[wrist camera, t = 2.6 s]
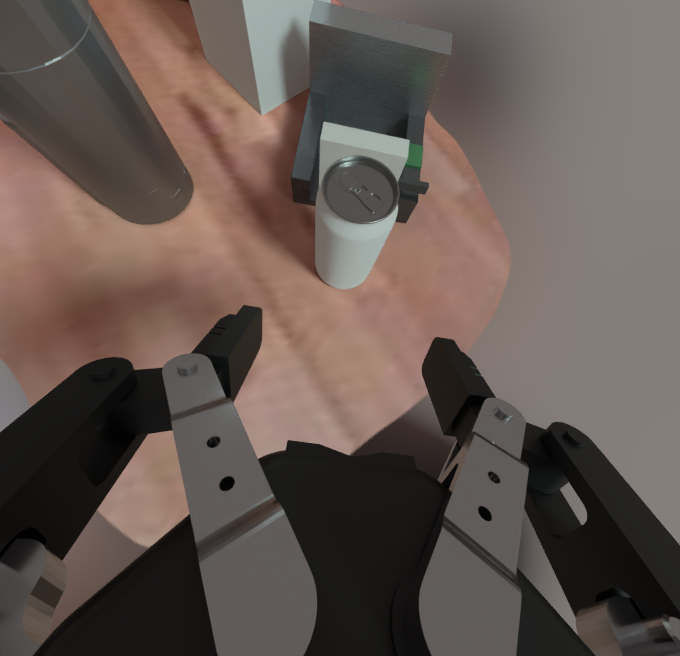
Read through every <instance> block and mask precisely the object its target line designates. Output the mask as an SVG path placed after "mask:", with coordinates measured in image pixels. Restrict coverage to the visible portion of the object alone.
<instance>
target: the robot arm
mask: <svg viewBox="0 0 680 656" xmlns="http://www.w3.org/2000/svg"><path fill="white" fill-rule="evenodd" d="M0 118H1V120H2V121H3V122H4V123H5V124H6V125H7V126H8V127H10V128H11V129H12V130H13V131H14V132H16V133H17V134H18V135H19V136H20V137H21V138H23V139H24V140H25V141H26V142H27V143H29V144H30V145H31V146H32V147H33V148H35V149H36V150H37V151H38V152H39V153H40V154H42V155H43V156H44V157H45V158H46V159H48V160H49V161H50V162H51V163H52V164H54V165H55V166H56V167H57V168H58V169H59V170H61V171H62V172H63V173H64V174H65V175H67V176H68V177H69V178H70V179H71V180H73V181H74V182H75V183H76V184H77V185H78V186H80V187H81V188H82V189H83V190H84V191H86V192H87V193H88V194H89V195H90V196H92V197H93V198H94V199H95V200H96V201H97V202H99V203H100V204H102V205H107V206H108V207H109V208H111V209H112V210H113V211H114V212H115V213H116V214H117V215H119V216H121V217H122V218H124V219H125V220H128V221H130V222H133V223H138V224H156V223H162V222H164V221H167V220H170V219H172V218H173V217H175V216H177V215H178V214H179V213H181V212H182V211H183V210H184V209H185V208H186V206H187V205H188V204H189V202H190V200H191V197H192V193H193V181H192V178H191V175H190V174H189V172H188V170H187V169H186V167H185V165H184V163H183V162H182V160H181V158H180V157H179V155H178V153H177V152H176V150H175V148H174V146H173V145H172V143H171V141H170V139H169V138H168V136H167V134H166V133H165V131H164V129H163V127H162V126H161V124H160V122H159V121H158V119H157V117H156V116H155V114H154V112H153V111H152V109H151V107H150V105H149V104H148V102H147V100H146V99H145V97H144V95H143V94H142V92H141V90H140V88H139V87H138V85H137V83H136V82H135V80H134V78H133V77H132V75H131V73H130V72H129V70H128V68H127V66H126V65H125V63H124V61H123V60H122V58H121V56H120V55H119V53H118V51H117V49H116V48H115V46H114V44H113V43H112V41H111V39H110V38H109V36H108V34H107V33H106V31H105V29H104V27H103V26H102V24H101V22H100V21H99V19H98V17H97V16H96V14H95V12H94V10H93V9H92V7H91V5H90V4H89V2H88V0H0ZM261 342H262V309H261V308H258V307H252V306H246V305H244V306H243V307H242V308H241V309H240V310H239V312H238V313H237V314H236V315H232V314H229V315H227V316H225V317H223V318H221V319H220V320H219V321H218V322H217V323H216V324H215V326H214V328H212V329H211V330H210V331H209V334H207V335H206V336H205V337H204V339H203V340H202V341H201V342H200V343H199V344H198V346H197V347H196V348H195V349H194V350H193V351H192V353H191V354H184V355H180V356H177V357H175V358H173V359H171V360H170V361H168V362H167V363H166V364H165V365H164V367H163V368H155V369H142V370H134V368H133V365H132V363H131V362H130V361H129V360H127V359H124V358H118V357H111V358H104V359H99V360H96V361H93V362H90V363H88V364H86V365H84V366H82V367H81V368H79V369H78V370H76V371H75V372H74V373H73V374H72V375H70V376H69V377H68V378H67V379H65V380H64V381H63V382H62V383H60V384H59V385H58V386H57V387H55V388H54V389H53V390H52V391H51V392H49V393H48V394H47V395H46V396H44V397H43V398H42V399H41V400H39V401H38V402H37V403H36V404H35V405H33V406H32V407H31V408H30V409H28V410H27V411H26V412H25V413H23V414H22V415H21V416H20V417H18V418H17V419H16V420H15V421H14V422H12V423H11V424H10V425H9V426H8V427H6V428H5V429H4V430H3V431H1V432H0V656H680V545H679V544H678V543H677V541H675V539H674V538H673V537H672V535H671V534H670V533H669V532H668V531H667V530H666V528H665V527H664V526H663V525H662V524H661V522H660V521H659V520H658V519H657V518H656V516H655V515H654V514H653V513H652V512H651V511H650V509H649V508H648V507H647V506H646V505H645V503H644V502H643V501H642V500H641V499H640V497H639V496H638V495H637V494H636V493H635V491H634V490H633V489H632V488H631V487H630V485H629V484H628V483H627V482H626V481H625V480H624V478H623V477H622V476H621V475H620V474H619V472H618V471H617V470H616V469H615V468H614V467H613V465H612V464H611V463H610V462H609V460H608V459H607V458H606V457H605V456H604V454H603V453H602V452H601V451H600V450H599V449H598V448H597V446H596V445H595V444H594V443H593V442H592V440H591V439H589V438H588V437H587V436H586V435H585V434H583V433H582V432H581V431H579V430H578V429H576V428H574V427H572V426H570V425H568V424H565V423H562V422H554V423H552V424H551V425H550V426H549V427H548V428H547V429H546V430H545V429H542V428H540V427H537V426H535V425H532V424H529V423H527V422H525V419H524V417H523V416H522V414H521V413H520V412H519V411H518V410H517V409H516V408H515V407H513V406H512V405H511V404H509V403H507V402H505V401H503V400H500V399H498V398H496V397H495V395H494V394H493V392H492V391H491V389H490V388H489V386H488V385H487V383H486V381H485V380H484V378H483V377H482V376H481V374H480V372H479V371H478V370H477V368H476V366H475V364H474V363H473V361H472V360H471V359H470V358H469V357H468V356H467V355H466V354H464V353H463V352H461V351H460V349H459V348H458V346H457V344H456V343H455V341H454V340H452V339H446V338H440V337H436V338H435V339H434V340H433V342H432V344H431V346H430V348H429V351H428V353H427V355H426V357H425V359H424V362H423V365H422V376H423V379H424V381H425V384H426V387H427V390H428V393H429V395H430V398H431V401H432V404H433V407H434V409H435V412H436V415H437V418H438V420H439V423H440V426H441V429H442V432H443V434H444V435H447V436H455V437H456V439H457V442H456V443H455V444H454V446H453V448H452V450H451V452H450V455H449V457H448V459H447V461H446V463H445V466H444V468H443V470H442V472H441V474H440V477H439V479H438V480H437V479H435V478H434V477H432V476H431V475H429V474H428V473H426V472H424V471H422V470H420V469H418V468H416V464H415V459H414V457H413V456H405V455H398V454H390V453H378V454H370V455H362V456H355V457H353V456H349V455H346V454H343V453H341V452H338V451H336V450H333V449H331V448H328V447H325V446H323V445H320V444H313V443H306V442H298V441H290V440H288V442H287V447H286V450H285V451H279V452H275V453H271V454H268V455H266V456H263V457H261V458H259V459H257V456H256V454H255V452H254V449H253V447H252V445H251V443H250V440H249V438H248V436H247V433H246V431H245V429H244V426H243V424H242V422H241V420H240V417H239V415H238V413H237V410H236V408H235V406H234V404H233V402H234V400H235V398H236V396H237V394H238V392H239V390H240V388H241V386H242V384H243V382H244V380H245V378H246V376H247V374H248V372H249V370H250V368H251V366H252V364H253V362H254V360H255V358H256V355H257V353H258V351H259V349H260V346H261ZM170 430H173V434H174V439H175V443H176V448H177V453H178V458H179V463H180V468H181V473H182V478H183V483H184V488H185V493H186V497H187V502H188V507H189V512H190V514H189V515H188V516H187V517H186V518H184V519H183V520H182V521H181V522H180V523H178V524H177V525H176V526H175V527H174V528H172V529H171V530H170V531H169V532H168V533H167V534H165V535H164V536H163V537H162V538H161V539H159V540H158V541H157V542H156V543H155V544H154V545H152V546H151V547H150V548H149V549H148V550H146V551H145V552H144V553H143V554H142V555H141V556H139V557H138V558H137V559H136V560H135V561H133V562H132V563H131V564H130V565H129V566H127V567H126V568H125V569H124V570H123V571H122V572H120V573H119V574H118V575H117V576H116V577H114V578H113V579H112V580H111V581H110V582H109V583H107V584H106V585H105V586H104V587H103V588H101V589H100V590H99V591H98V592H97V593H96V594H94V595H93V596H92V597H91V598H90V599H88V600H87V601H86V602H85V603H84V604H82V605H81V606H80V607H79V608H78V609H77V610H75V611H74V612H73V613H72V614H71V615H70V616H68V617H67V618H66V619H65V620H64V621H63V622H62V623H61V624H60V625H59V626H58V627H57V628H56V629H55V630H54V631H53V632H52V634H51V635H50V624H51V620H52V616H53V613H54V611H55V608H56V606H57V604H58V602H59V600H60V598H61V596H62V594H63V592H64V590H65V587H66V584H67V579H68V571H67V567H66V565H65V563H64V562H63V561H62V560H63V559H64V557H65V556H66V554H67V553H68V551H69V550H70V548H71V547H72V546H73V544H74V543H75V541H76V540H77V538H78V537H79V535H80V534H81V532H82V531H83V529H84V528H85V526H86V525H87V523H88V522H89V520H90V519H91V517H92V516H93V515H94V513H95V512H96V510H97V509H98V507H99V506H100V504H101V503H102V501H103V500H104V498H105V497H106V495H107V494H108V492H109V491H110V489H111V488H112V486H113V485H114V483H115V482H116V481H117V479H118V478H119V476H120V475H121V473H122V472H123V470H124V469H125V467H126V466H127V464H128V463H129V461H130V460H131V458H132V457H133V455H134V454H135V452H136V451H137V450H138V448H139V447H140V445H141V444H142V442H143V441H144V439H145V438H146V436H147V435H148V434H150V433H157V432H163V431H170ZM568 482H570V484H571V486H572V487H573V489H574V490H575V492H576V493H577V495H578V496H579V498H580V500H581V501H582V502H583V504H584V506H585V508H586V511H587V521H586V523H585V524H584V525H581V524H580V522H579V520H578V519H577V517H576V515H575V514H574V512H573V510H572V509H571V507H570V506H569V504H568V502H567V501H566V499H565V497H564V496H563V494H562V492H561V491H560V489H561V487H563V486H564V485H566V484H567V483H568ZM524 509H525V511H526V513H527V515H528V517H529V519H530V521H531V523H532V526H533V528H534V530H535V532H536V534H537V536H538V538H539V540H540V543H541V545H542V547H543V549H544V551H545V553H546V555H547V557H548V560H549V562H550V564H551V566H552V568H553V570H554V572H555V575H556V577H557V579H558V581H559V583H560V585H561V587H562V589H563V591H564V594H565V596H566V598H567V600H568V602H569V604H570V606H571V609H572V611H573V613H574V615H575V617H576V628H577V632H578V635H577V634H576V633H575V632H574V631H573V629H572V628H571V627H570V626H569V625H568V624H567V623H566V622H565V621H564V619H563V618H562V617H561V616H560V615H559V614H558V613H557V612H556V610H555V609H554V608H553V607H552V606H551V605H550V604H549V603H548V601H547V600H546V599H545V598H544V597H543V596H542V595H541V593H540V592H539V591H538V590H537V589H536V588H535V587H534V586H533V584H532V583H531V582H530V581H529V580H528V579H527V578H526V577H525V576H524V574H523V573H522V572H521V571H520V570H519V569H518V568H517V562H518V554H519V546H520V537H521V529H522V521H523V513H524Z"/></svg>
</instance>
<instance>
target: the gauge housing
mask: <svg viewBox="0 0 680 656" xmlns="http://www.w3.org/2000/svg"><path fill="white" fill-rule="evenodd" d="M451 45H452V34H451V33H447V32H443V31H439V30H435V29H431V28H427V27H423V26H419V25H415V24H411V23H407V22H403V21H399V20H395V19H391V18H387V17H382V16H379V15H375V14H371V13H367V12H363V11H359V10H355V9H351V8H347V7H343V6H339V5H335V4H331V3H327V2H323V1H319V0H314V2H313V6H312V10H311V15H310V19H309V64H310V93H309V98H308V102H307V107H306V112H305V116H304V121H303V125H302V130H301V134H300V139H299V143H298V148H297V152H296V157H295V161H294V166H293V171H292V175H291V181H292V190H293V200H294V202H297V203H303V204H308V205H313V206H316V197H317V192H318V189H319V163H320V137H321V132H322V127H323V122H329V123H333V124H338V125H342V126H347V127H352V128H356V129H361V130H365V131H370V132H375V133H379V134H384V135H388V136H393V137H398V138H402V139H407V140H410V141H409V151H408V159H407V161H406V163H405V166H404V168H403V171H402V173H401V175H400V177H402V178H407V179H412V180H417V181H420V170H421V165H422V153H423V134H424V123H425V116H426V114H427V111H428V109H429V106H430V104H431V102H432V100H433V97H434V95H435V92H436V90H437V88H438V85H439V83H440V80H441V78H442V76H443V73H444V71H445V69H446V66H447V63H448V61H449V59H450V57H451V47H452V46H451ZM399 191H400V196H399V201H398V213H397V217H396V220H395V221H396V222H401V223H406V222H407V220H408V219H409V217H410V215H411V213H412V212H413V210H414V208H415V206H416V205H417V203H418V194H419V193H414V192H409V191H404V190H399Z"/></svg>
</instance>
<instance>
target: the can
mask: <svg viewBox="0 0 680 656" xmlns="http://www.w3.org/2000/svg"><path fill="white" fill-rule="evenodd" d="M399 196H400V191H399V185H398V182H397V179H396V177H395V176H394V174H393V173H392V172H391V170H390V169H389V168H388V167H387V166H385V165H384V164H383V163H381V162H380V161H378V160H376V159H373V158H370V157H367V156H360V155H354V156H347V157H344V158H341V159H339V160H337V161H336V162H334V163H333V164H332V165H331V166H330V167H329V168H328V169H327V171H326V172H325V174H324V177H323V180H322V183H321V185H320V187H319V189H318V192H317V197H316V213H315V266H316V270H317V273H318V274H319V276H320V278H321V279H322V280H323V281H324V282H325V283H327V284H328V285H330V286H332V287H334V288H338V289H351V288H354V287H356V286H358V285H360V284H361V283H362V282H363V281H364V280H365V279H366V278H367V276H368V275H369V273H370V271H371V269H372V267H373V265H374V263H375V261H376V259H377V257H378V255H379V253H380V251H381V249H382V247H383V245H384V243H385V241H386V239H387V237H388V235H389V233H390V231H391V229H392V227H393V225H394V223H395V220H396V217H397V213H398V201H399Z"/></svg>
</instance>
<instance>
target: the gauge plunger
mask: <svg viewBox="0 0 680 656" xmlns="http://www.w3.org/2000/svg"><path fill="white" fill-rule="evenodd" d="M409 141H410V140H407V139H402V138H398V137H393V136H388V135H384V134H379V133H375V132H370V131H365V130H361V129H356V128H352V127H347V126H342V125H338V124H333V123H329V122H323V127H322V132H321V137H320V163H319V187H320V185H321V183H322V180H323V177H324V174H325V172H326V171H327V169H328V168H329V167H330V166H331V165H332V164H333V163H334V162H336V161H337V160H339V159H341V158H344V157H347V156H354V155H360V156H367V157H370V158H373V159H376V160H378V161H380V162H381V163H383V164H384V165H385V166H387V167H388V168H389V169H390V170H391V172H392V173H393V174H394V176H395V177H396V179H397V182H398V185H399V190H404V191H409V192H414V193H419V194H424V195H425V193H426V191H427V190H428V188H429V183H426V182H421V181H417V180H412V179H407V178H402V177H400V175H401V173H402V171H403V168H404V166H405V163H406V161H407V159H408V151H409Z"/></svg>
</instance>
